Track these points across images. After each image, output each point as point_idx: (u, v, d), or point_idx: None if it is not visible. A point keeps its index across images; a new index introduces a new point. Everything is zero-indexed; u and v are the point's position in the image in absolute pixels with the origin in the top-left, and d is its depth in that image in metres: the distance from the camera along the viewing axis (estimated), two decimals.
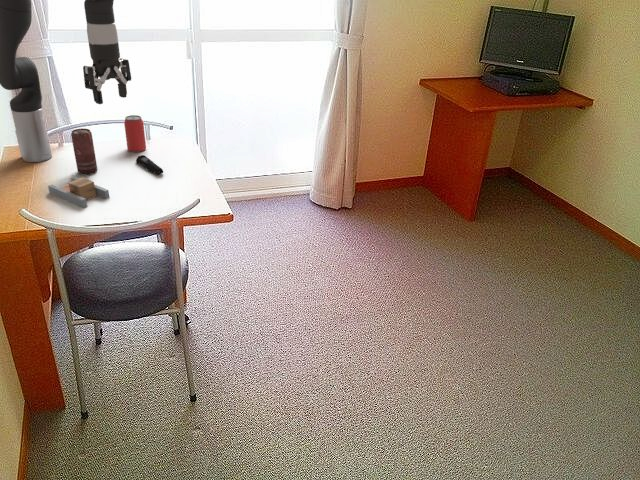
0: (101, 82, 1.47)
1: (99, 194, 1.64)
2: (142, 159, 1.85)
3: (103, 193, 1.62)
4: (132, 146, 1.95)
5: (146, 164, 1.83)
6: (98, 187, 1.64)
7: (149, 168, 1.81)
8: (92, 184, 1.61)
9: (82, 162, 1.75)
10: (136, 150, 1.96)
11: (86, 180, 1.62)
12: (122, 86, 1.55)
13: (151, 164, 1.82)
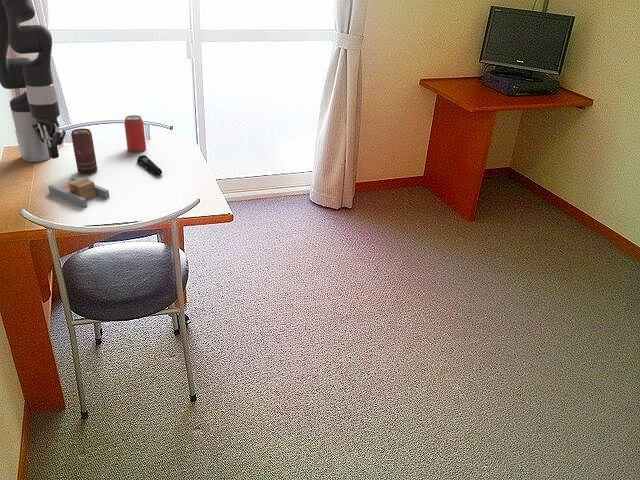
0: None
1: (99, 194, 1.64)
2: (143, 159, 1.85)
3: (103, 193, 1.62)
4: (132, 146, 1.95)
5: (146, 164, 1.83)
6: (98, 187, 1.64)
7: (148, 168, 1.81)
8: (92, 184, 1.61)
9: (82, 162, 1.75)
10: (136, 150, 1.96)
11: (86, 180, 1.62)
12: None
13: (151, 164, 1.81)
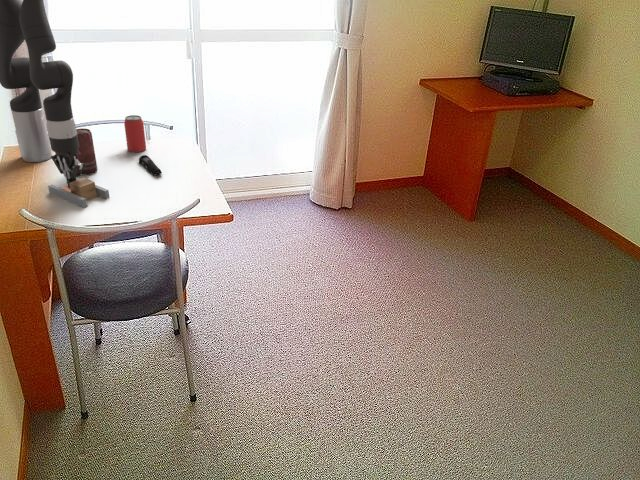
0: None
1: (99, 194, 1.64)
2: (144, 159, 1.86)
3: (103, 193, 1.62)
4: (132, 146, 1.95)
5: (146, 164, 1.83)
6: (98, 187, 1.64)
7: (149, 168, 1.81)
8: (93, 184, 1.61)
9: (82, 162, 1.75)
10: (136, 150, 1.96)
11: (87, 180, 1.62)
12: None
13: (151, 164, 1.81)
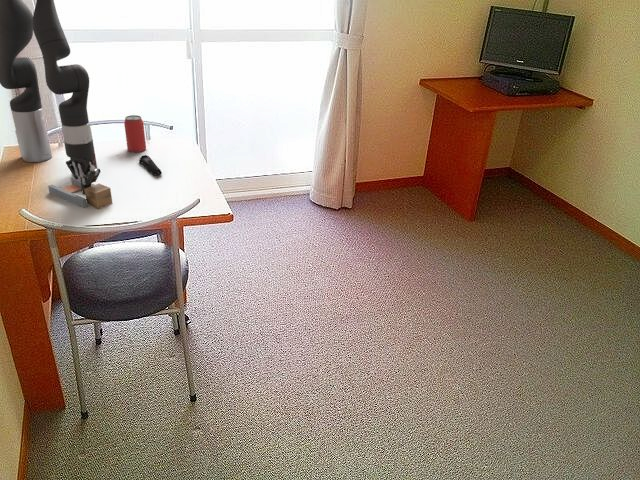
0: None
1: None
2: (144, 159, 1.86)
3: None
4: (132, 146, 1.95)
5: (147, 164, 1.83)
6: None
7: (149, 168, 1.81)
8: (108, 190, 1.58)
9: None
10: (136, 150, 1.96)
11: (102, 186, 1.59)
12: None
13: (151, 164, 1.81)
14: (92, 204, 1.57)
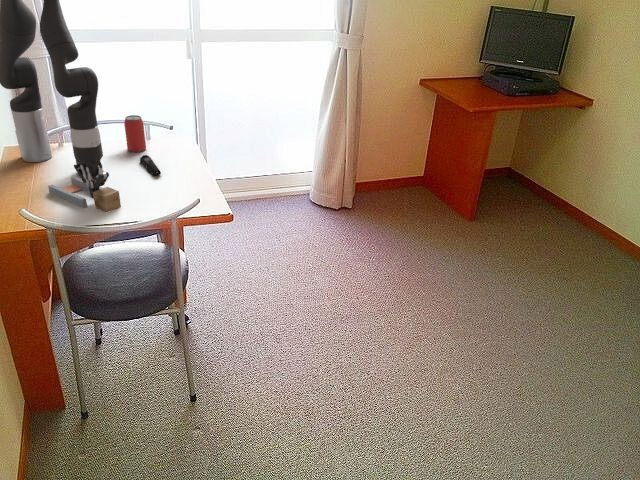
0: None
1: None
2: (144, 159, 1.86)
3: None
4: (132, 146, 1.95)
5: (146, 164, 1.83)
6: None
7: (148, 168, 1.81)
8: (117, 193, 1.56)
9: None
10: (136, 150, 1.96)
11: (111, 189, 1.57)
12: None
13: (151, 164, 1.81)
14: (100, 207, 1.56)
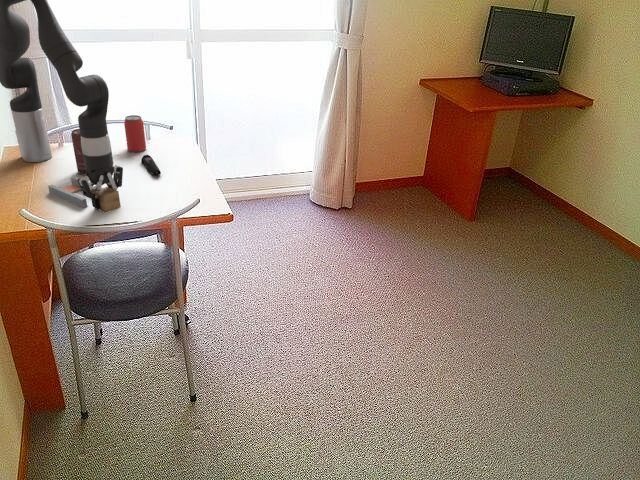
0: None
1: None
2: (145, 159, 1.86)
3: None
4: (132, 146, 1.95)
5: (147, 164, 1.83)
6: None
7: (149, 168, 1.81)
8: (117, 194, 1.56)
9: (82, 162, 1.75)
10: (136, 150, 1.96)
11: (110, 189, 1.57)
12: None
13: (151, 164, 1.81)
14: None
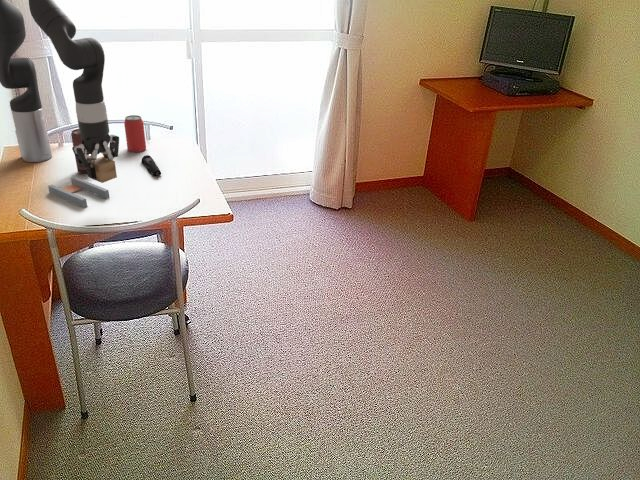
0: None
1: (99, 194, 1.64)
2: (146, 159, 1.86)
3: (103, 193, 1.62)
4: (132, 146, 1.95)
5: (147, 164, 1.83)
6: (98, 187, 1.64)
7: (149, 169, 1.81)
8: (113, 163, 1.52)
9: None
10: (136, 150, 1.96)
11: (106, 159, 1.53)
12: None
13: (151, 164, 1.81)
14: (96, 178, 1.52)
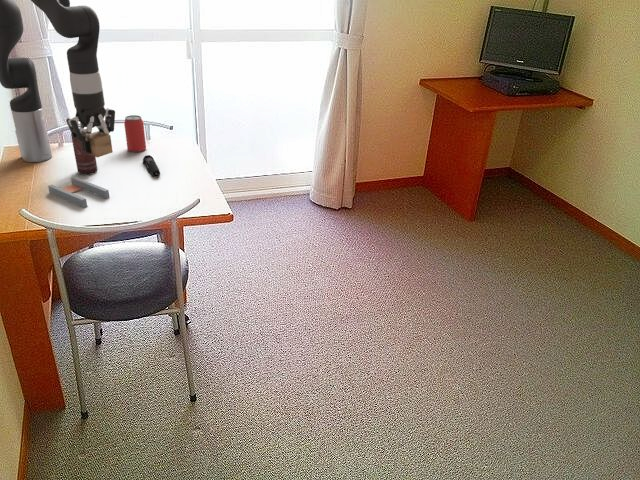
0: None
1: (99, 194, 1.64)
2: (147, 159, 1.86)
3: (103, 193, 1.62)
4: (132, 146, 1.95)
5: (147, 164, 1.83)
6: (98, 187, 1.64)
7: (149, 169, 1.81)
8: (108, 138, 1.48)
9: (82, 162, 1.75)
10: (136, 150, 1.96)
11: (102, 133, 1.49)
12: None
13: (151, 164, 1.81)
14: None
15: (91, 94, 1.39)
